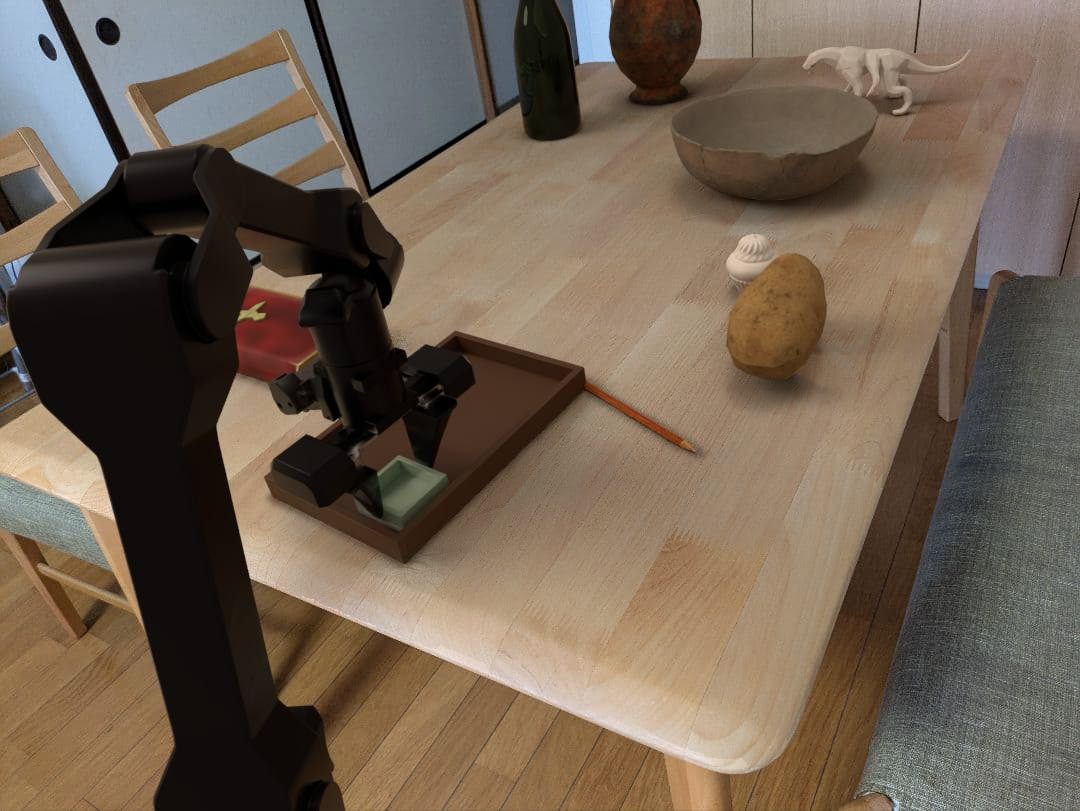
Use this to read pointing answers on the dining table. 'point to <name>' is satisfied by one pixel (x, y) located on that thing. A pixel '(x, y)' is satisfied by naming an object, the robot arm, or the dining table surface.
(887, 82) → the white dinosaur figurine
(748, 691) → the dining table surface
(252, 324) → the book
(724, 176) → the bowl
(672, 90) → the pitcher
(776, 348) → the potato
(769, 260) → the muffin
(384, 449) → the tray
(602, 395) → the pencil
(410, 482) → the celadon dish
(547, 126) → the beer bottle
